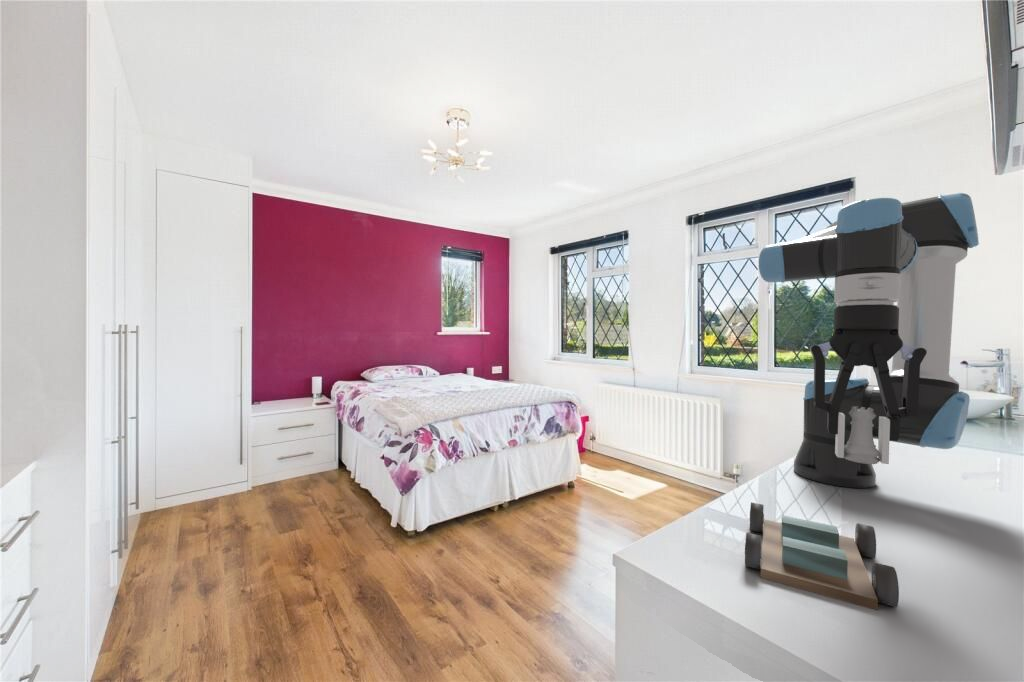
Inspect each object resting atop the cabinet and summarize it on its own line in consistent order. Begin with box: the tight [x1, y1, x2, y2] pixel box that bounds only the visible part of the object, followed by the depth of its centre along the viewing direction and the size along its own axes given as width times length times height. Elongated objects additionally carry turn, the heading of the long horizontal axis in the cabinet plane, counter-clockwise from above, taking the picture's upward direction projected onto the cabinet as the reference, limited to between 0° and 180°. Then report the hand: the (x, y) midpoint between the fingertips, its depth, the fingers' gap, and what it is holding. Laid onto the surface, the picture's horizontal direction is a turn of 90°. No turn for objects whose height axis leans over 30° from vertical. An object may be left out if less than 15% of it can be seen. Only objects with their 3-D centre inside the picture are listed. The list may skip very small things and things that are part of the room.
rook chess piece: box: [844, 407, 880, 465], centre depth 63 cm, size 4×4×8 cm
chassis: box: [744, 502, 900, 611], centre depth 60 cm, size 18×16×4 cm
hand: (860, 458), depth 63 cm, fingers closed on rook chess piece, 4 cm apart
